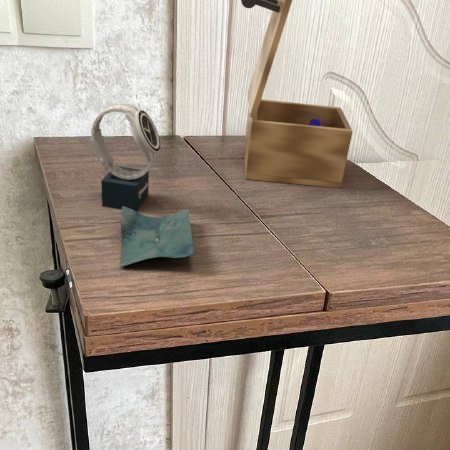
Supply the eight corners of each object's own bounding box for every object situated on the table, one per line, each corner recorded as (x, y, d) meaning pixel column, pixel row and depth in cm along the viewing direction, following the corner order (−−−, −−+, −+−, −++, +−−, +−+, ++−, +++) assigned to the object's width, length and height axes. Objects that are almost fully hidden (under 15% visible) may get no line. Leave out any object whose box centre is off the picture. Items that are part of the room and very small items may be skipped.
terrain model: (193, 270, 66) (194, 253, 64) (118, 270, 65) (117, 253, 64) (188, 219, 75) (188, 204, 74) (122, 219, 75) (121, 203, 73)
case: (330, 160, 98) (340, 107, 93) (340, 188, 89) (352, 131, 84) (243, 152, 97) (249, 98, 92) (245, 179, 88) (251, 121, 83)
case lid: (286, -17, 83) (245, -32, 82) (294, -5, 74) (247, -22, 73) (252, 95, 92) (214, 83, 91) (255, 118, 83) (213, 104, 82)
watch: (152, 213, 76) (154, 118, 69) (88, 203, 77) (83, 108, 70) (163, 197, 80) (166, 105, 73) (102, 187, 81) (99, 96, 74)
